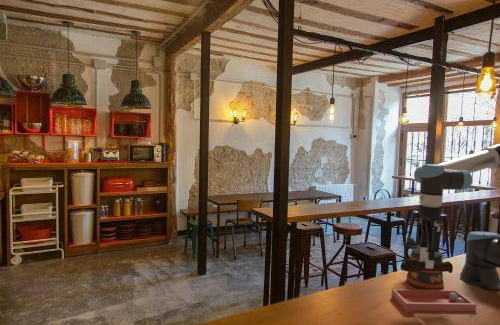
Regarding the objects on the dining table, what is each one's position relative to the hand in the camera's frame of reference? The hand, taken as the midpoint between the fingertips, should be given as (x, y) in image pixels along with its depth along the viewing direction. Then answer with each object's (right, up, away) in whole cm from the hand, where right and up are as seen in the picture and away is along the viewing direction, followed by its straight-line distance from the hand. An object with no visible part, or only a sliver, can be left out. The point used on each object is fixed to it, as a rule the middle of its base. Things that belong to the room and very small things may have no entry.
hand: (426, 265), depth 128 cm
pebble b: (+12, -15, -1) cm, 19 cm away
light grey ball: (+12, -15, +3) cm, 19 cm away
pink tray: (+3, -15, +1) cm, 16 cm away
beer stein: (+6, -15, +18) cm, 24 cm away
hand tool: (0, -2, 0) cm, 3 cm away
